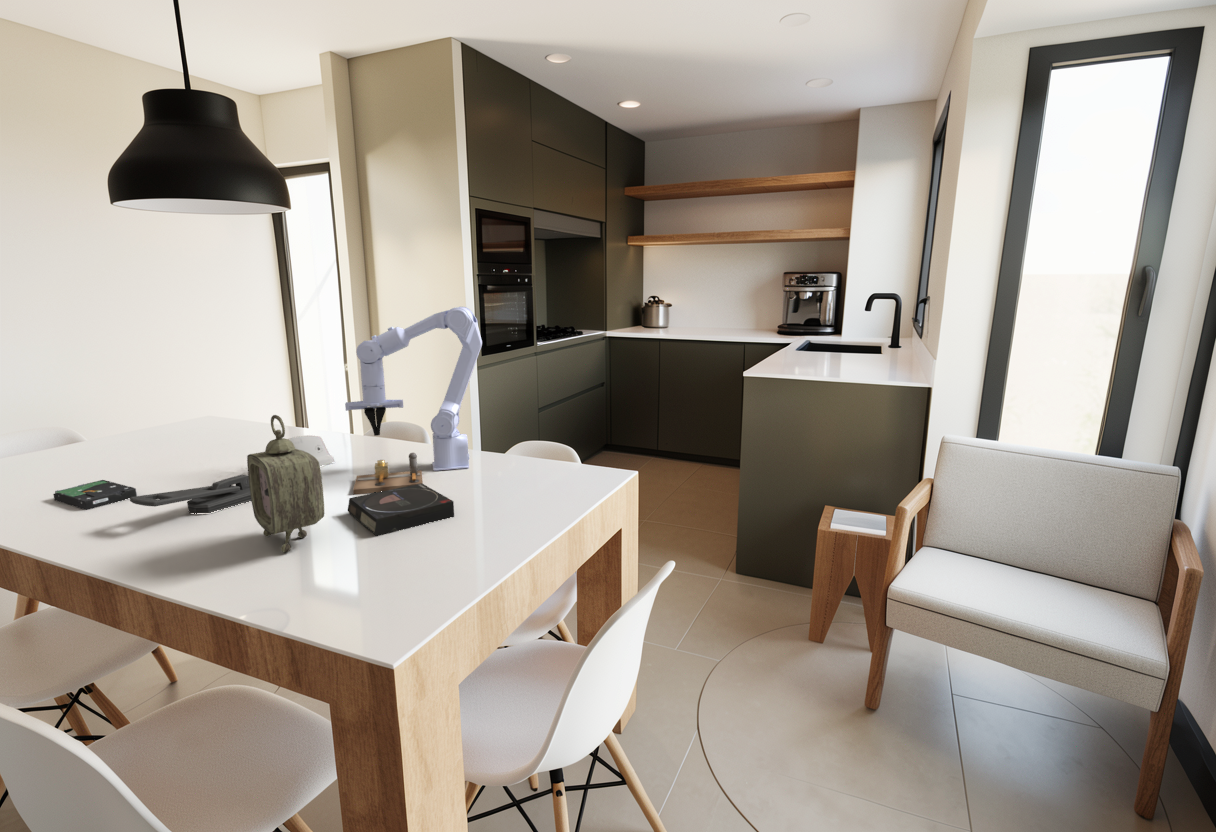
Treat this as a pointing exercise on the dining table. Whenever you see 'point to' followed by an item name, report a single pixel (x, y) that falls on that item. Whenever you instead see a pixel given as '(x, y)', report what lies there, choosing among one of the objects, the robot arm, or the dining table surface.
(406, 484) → the plate
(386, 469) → the gold perfume bottle
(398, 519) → the portable cd player
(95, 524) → the dining table surface
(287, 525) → the tabletop clock
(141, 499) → the dark grey long piece
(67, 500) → the disk drive
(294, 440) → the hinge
